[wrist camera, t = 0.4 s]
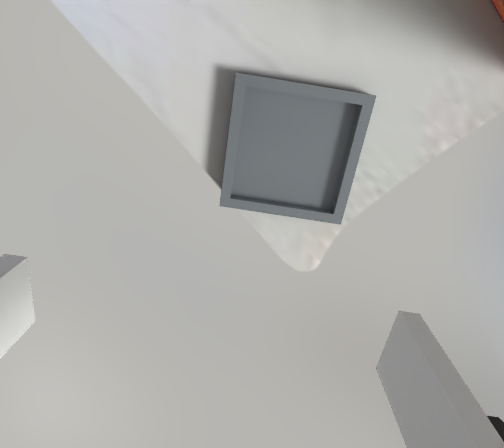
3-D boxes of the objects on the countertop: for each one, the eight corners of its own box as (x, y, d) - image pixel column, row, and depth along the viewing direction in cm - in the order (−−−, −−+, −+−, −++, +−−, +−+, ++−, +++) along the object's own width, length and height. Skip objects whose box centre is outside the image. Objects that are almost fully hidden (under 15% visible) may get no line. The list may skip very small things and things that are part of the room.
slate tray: (237, 72, 33) (235, 72, 31) (370, 94, 33) (376, 95, 32) (221, 200, 38) (219, 206, 36) (337, 218, 38) (340, 224, 37)
